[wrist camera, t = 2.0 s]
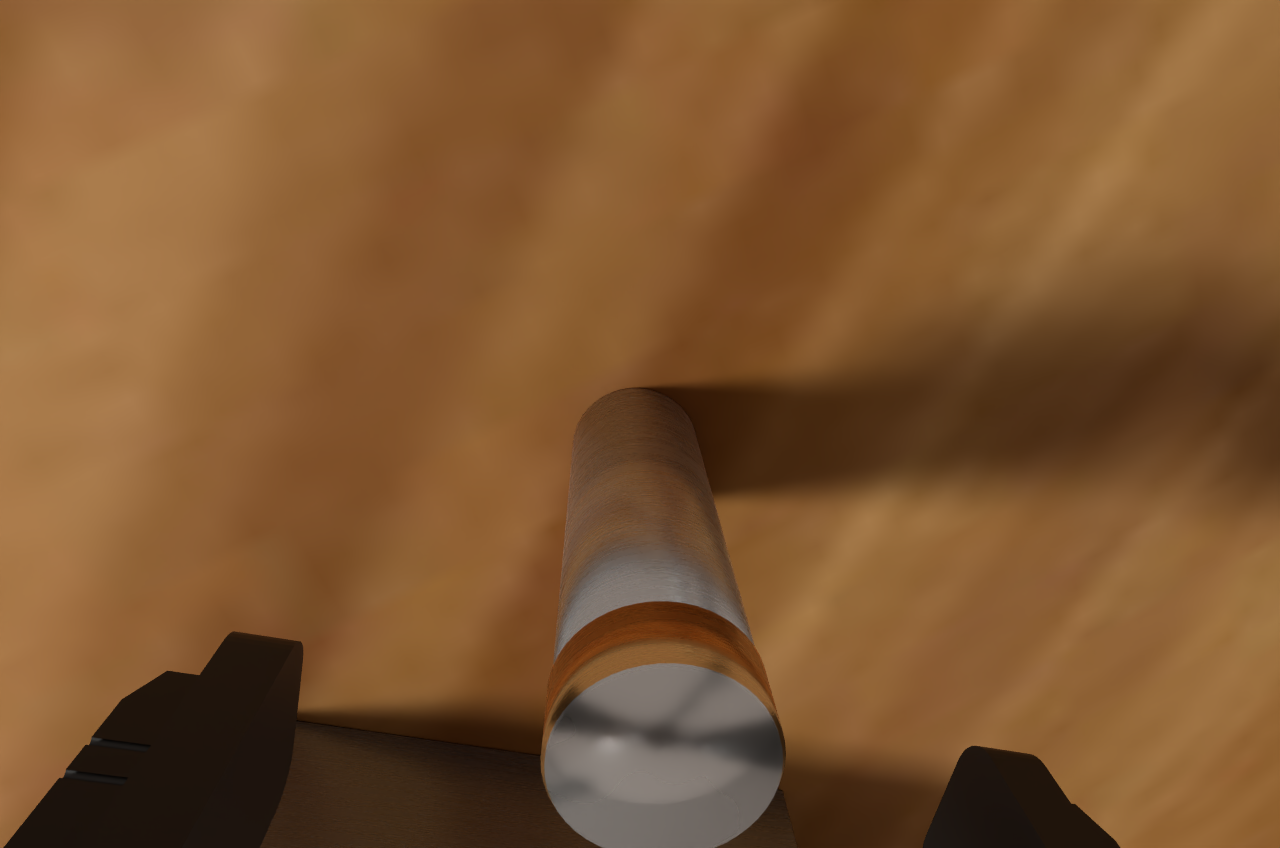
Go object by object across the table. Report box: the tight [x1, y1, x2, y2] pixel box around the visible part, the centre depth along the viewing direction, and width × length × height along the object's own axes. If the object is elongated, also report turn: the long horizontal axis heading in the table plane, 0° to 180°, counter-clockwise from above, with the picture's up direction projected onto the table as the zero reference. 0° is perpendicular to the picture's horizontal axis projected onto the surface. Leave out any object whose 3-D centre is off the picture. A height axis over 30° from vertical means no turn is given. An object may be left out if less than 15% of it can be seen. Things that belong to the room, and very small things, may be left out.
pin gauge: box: [541, 388, 786, 848], centre depth 15 cm, size 3×3×10 cm
